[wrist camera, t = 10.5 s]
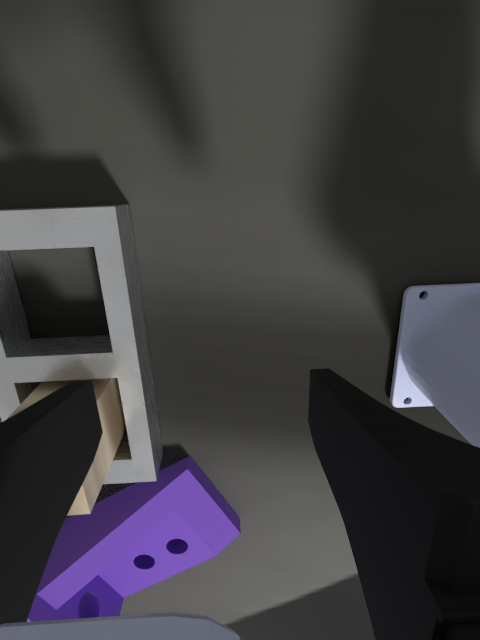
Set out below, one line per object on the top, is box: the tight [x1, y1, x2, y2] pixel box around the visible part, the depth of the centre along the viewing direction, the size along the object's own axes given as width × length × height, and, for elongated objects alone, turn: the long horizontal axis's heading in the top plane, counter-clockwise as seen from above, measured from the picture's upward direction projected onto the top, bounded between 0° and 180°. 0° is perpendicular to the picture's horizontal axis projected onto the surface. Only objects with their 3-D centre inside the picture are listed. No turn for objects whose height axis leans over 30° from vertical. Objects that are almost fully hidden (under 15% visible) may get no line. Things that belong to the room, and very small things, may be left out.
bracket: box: [27, 456, 240, 622], centre depth 23 cm, size 12×7×7 cm, turn 120°
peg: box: [6, 378, 126, 516], centre depth 19 cm, size 4×4×7 cm
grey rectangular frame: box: [0, 204, 163, 484], centre depth 20 cm, size 8×16×2 cm, turn 2°
